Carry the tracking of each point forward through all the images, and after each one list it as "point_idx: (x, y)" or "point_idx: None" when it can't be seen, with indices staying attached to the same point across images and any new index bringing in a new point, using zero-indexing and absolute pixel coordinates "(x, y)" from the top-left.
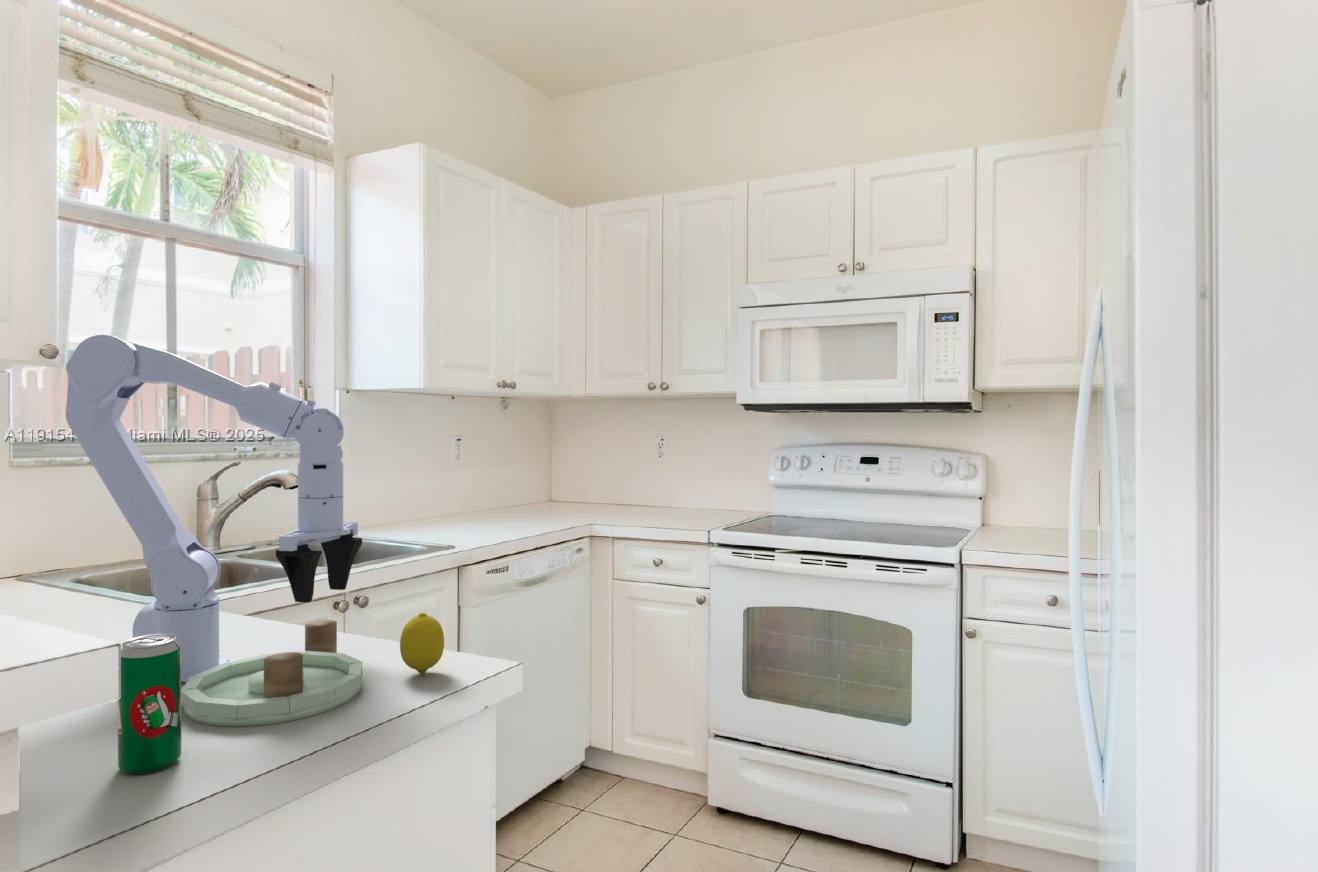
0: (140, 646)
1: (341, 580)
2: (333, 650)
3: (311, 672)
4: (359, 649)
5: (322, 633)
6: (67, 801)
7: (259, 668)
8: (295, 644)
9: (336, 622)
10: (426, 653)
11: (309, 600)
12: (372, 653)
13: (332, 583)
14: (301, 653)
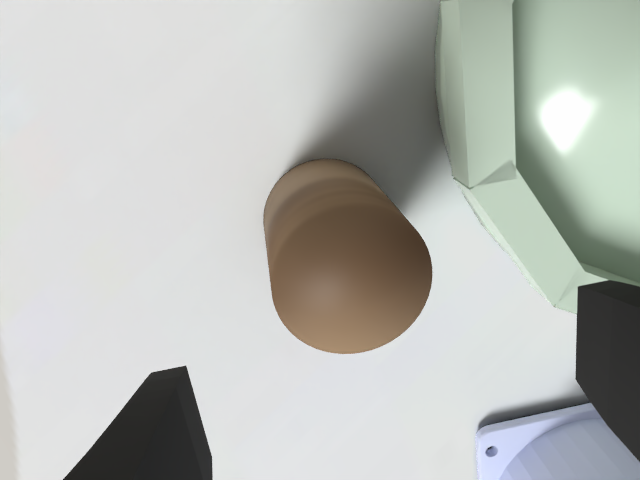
0: None
1: (181, 428)
2: (324, 170)
3: (574, 46)
4: (140, 176)
5: (398, 211)
6: None
7: (587, 264)
8: (210, 447)
9: (303, 224)
10: None
11: (612, 282)
12: (160, 72)
13: (204, 477)
14: (509, 186)
